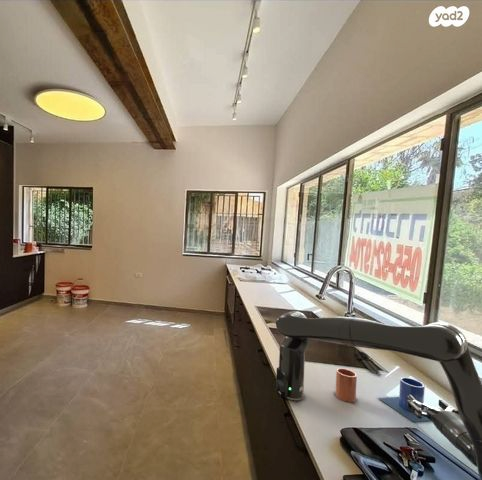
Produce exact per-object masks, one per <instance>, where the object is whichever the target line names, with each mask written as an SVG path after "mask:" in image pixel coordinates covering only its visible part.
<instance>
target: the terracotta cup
mask: <svg viewBox="0 0 482 480" xmlns="http://www.w3.org/2000/svg"><path fill="white" fill-rule="evenodd" d="M335 372H336V373H335V392H334V393H335V396H336V397H337V398H338V399H339V400H341V401H344V402H348V403H355V402H356V398H357V397H356V396H357V378H358V377H357V375H358V374H357V373H356V372H355V371H353V370H351V369H348V368H343V367H341V368H339V367H338V368H336V370H335Z"/></svg>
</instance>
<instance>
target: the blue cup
mask: <svg viewBox="0 0 482 480" xmlns="http://www.w3.org/2000/svg"><path fill="white" fill-rule="evenodd" d="M425 386H426V385H425V384H424V383H423V382H421V381H419V380H417V379H414V378H411V377H406V376H405V377H404V376H403V377H400V378H399V391H398V393H399V394H398V397H399V406H400V407H401V408H403V409H404V410H406V411H408V412H411V411H410V410H409V409H408V408H407V396H408V395H412V396H413V397H414V398H415V399H416V400H417V401H418V402H420V403H425V388H426V387H425ZM418 407H419V408H421V406H420V405H418ZM411 413H412V412H411Z"/></svg>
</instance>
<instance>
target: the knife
mask: <svg viewBox="0 0 482 480" xmlns="http://www.w3.org/2000/svg"><path fill="white" fill-rule="evenodd" d="M354 355H355V357H356V360H358V361H361V362H362V363H363V364H364V365H365V367H367V370H369V371H370V372H373V373H375V374H377V375H380V374H381V372H380V370H378V368H377V367H376V366H375V365H374V364H373V358H370V356H369V355H368V354H367V353H366V352H364V351H361V350H354Z"/></svg>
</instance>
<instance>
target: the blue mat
mask: <svg viewBox="0 0 482 480" xmlns="http://www.w3.org/2000/svg"><path fill="white" fill-rule="evenodd" d="M378 400H379V401H381V402H382V403H384V404H386V405H387V406H388V407H390V408H391V409H393V410H394V411H396V412H398V413H399V414H400V415H402V416H403V417H405V418H406V419H408V420H409V421H411V422H412V423H423V422H424V423H425V422H432V421H431V420H430V419H428V418H427V417H422V419H419V418H417V417H416V416H415V415H414V414H413V413H411V412H408V411H406V410H404V409H403V408H401V407H400V406H399V396H394V397H379V398H378ZM427 410H428V408H426V412H427Z"/></svg>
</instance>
